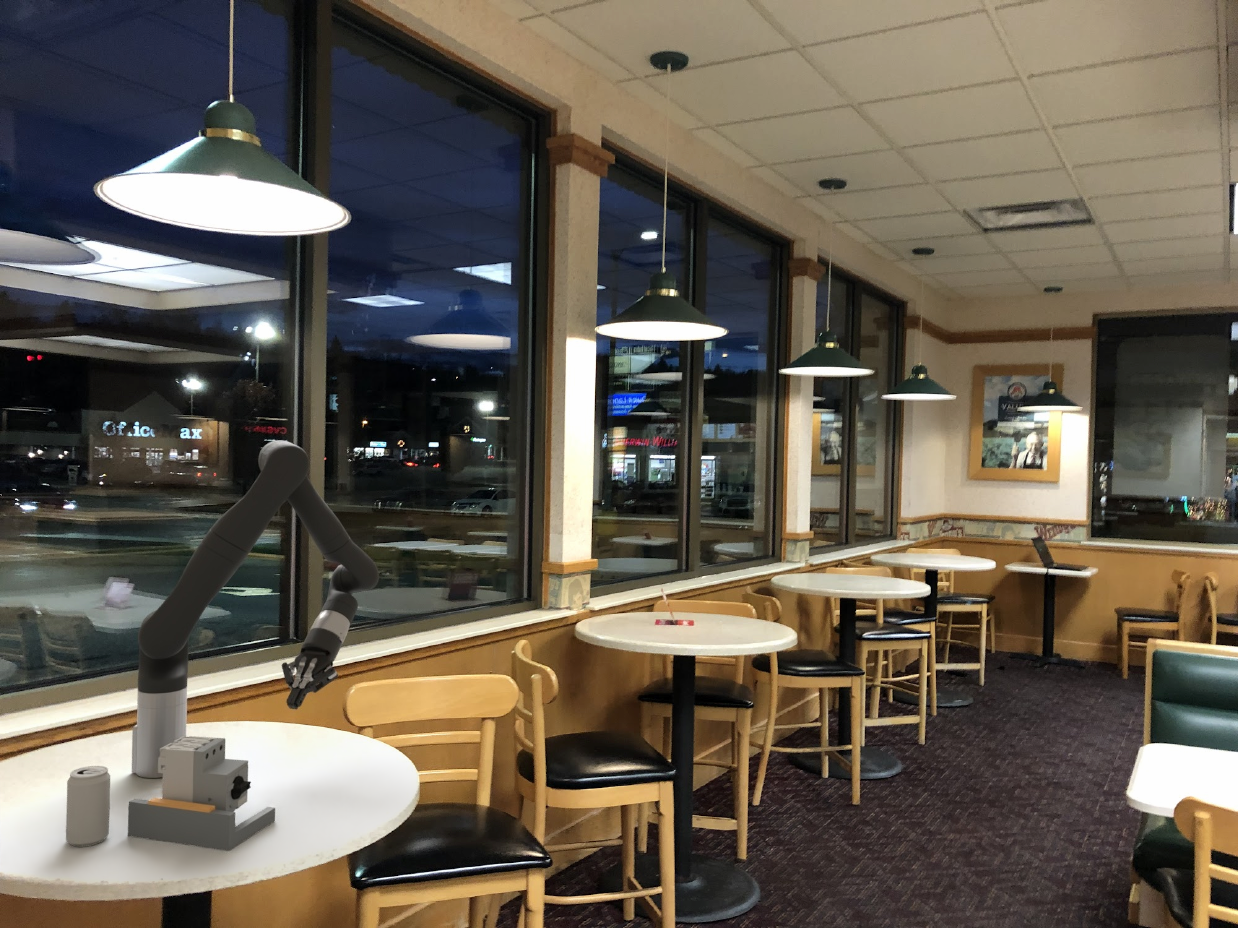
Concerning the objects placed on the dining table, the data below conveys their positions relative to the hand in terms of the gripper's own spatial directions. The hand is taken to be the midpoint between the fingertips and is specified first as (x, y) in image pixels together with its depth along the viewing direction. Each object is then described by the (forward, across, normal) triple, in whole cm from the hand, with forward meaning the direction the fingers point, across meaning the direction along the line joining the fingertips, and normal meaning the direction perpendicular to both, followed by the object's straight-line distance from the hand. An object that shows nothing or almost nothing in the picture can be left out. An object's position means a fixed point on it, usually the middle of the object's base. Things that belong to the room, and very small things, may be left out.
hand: (291, 707), depth 190 cm
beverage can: (+37, -15, -15) cm, 42 cm away
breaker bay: (+29, 0, -8) cm, 30 cm away
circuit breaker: (+29, +1, -8) cm, 30 cm away
